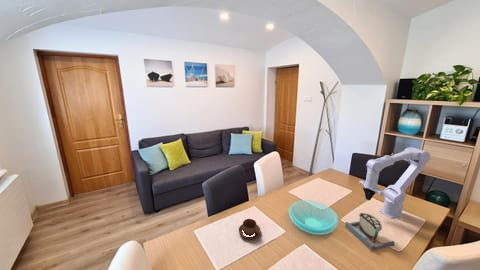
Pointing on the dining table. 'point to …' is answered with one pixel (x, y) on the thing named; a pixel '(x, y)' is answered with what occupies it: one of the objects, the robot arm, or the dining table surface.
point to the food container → (369, 226)
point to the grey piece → (364, 240)
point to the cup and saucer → (249, 228)
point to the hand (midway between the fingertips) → (368, 199)
